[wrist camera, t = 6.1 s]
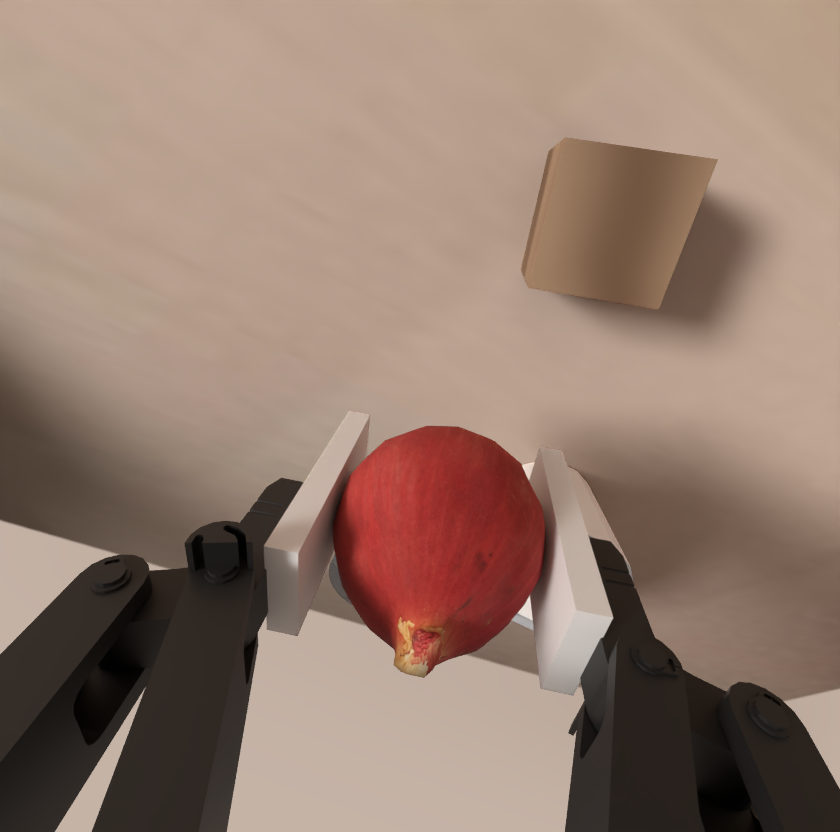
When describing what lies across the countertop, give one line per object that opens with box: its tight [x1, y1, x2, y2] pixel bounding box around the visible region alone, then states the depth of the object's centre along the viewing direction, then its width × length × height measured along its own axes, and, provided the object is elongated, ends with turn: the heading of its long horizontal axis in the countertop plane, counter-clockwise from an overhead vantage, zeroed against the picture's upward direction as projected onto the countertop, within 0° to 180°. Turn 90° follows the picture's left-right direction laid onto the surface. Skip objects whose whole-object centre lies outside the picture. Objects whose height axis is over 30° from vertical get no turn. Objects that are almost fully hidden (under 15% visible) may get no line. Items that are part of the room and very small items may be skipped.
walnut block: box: [521, 138, 717, 310], centre depth 18 cm, size 5×5×5 cm
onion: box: [333, 426, 545, 678], centre depth 12 cm, size 6×6×8 cm
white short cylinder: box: [512, 462, 634, 630], centre depth 24 cm, size 7×7×7 cm
